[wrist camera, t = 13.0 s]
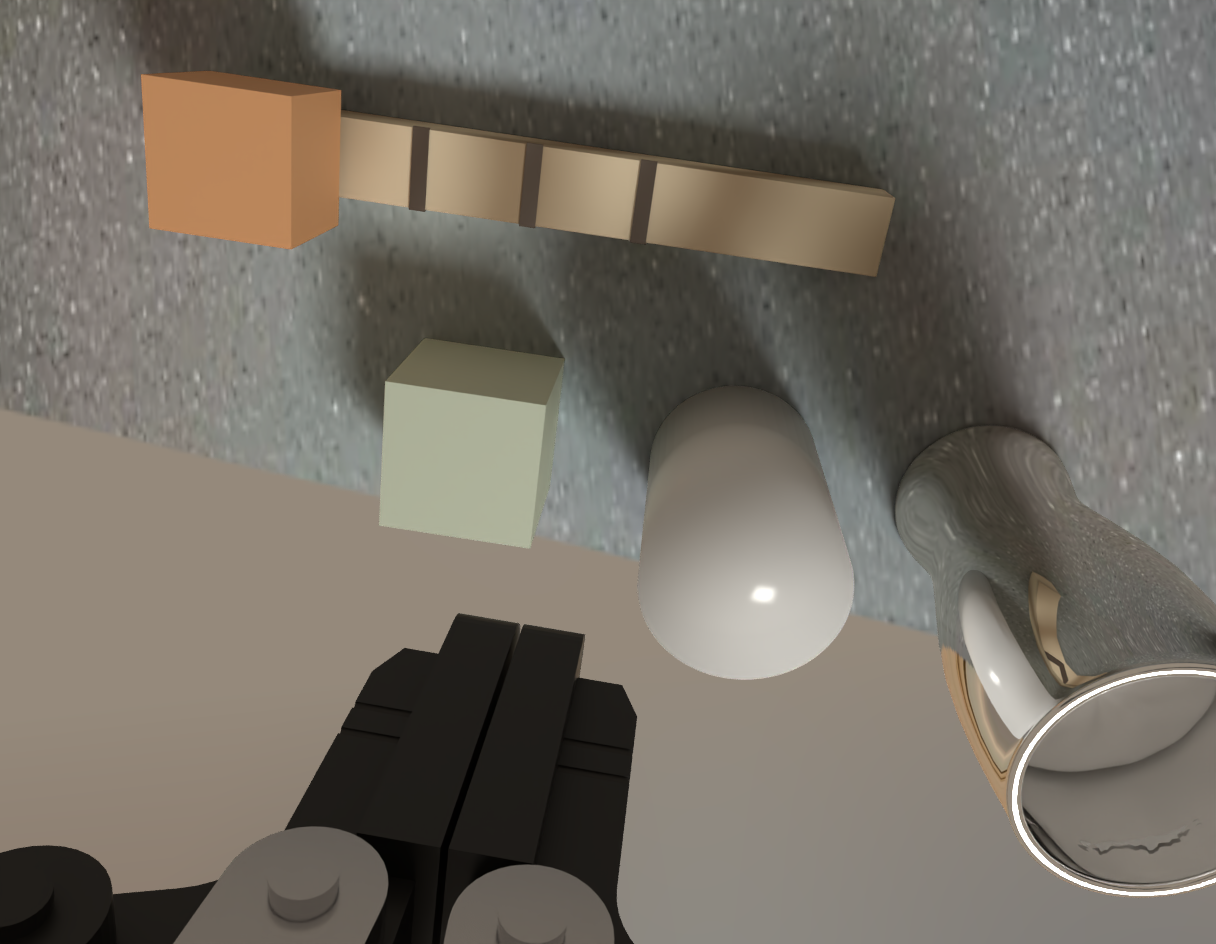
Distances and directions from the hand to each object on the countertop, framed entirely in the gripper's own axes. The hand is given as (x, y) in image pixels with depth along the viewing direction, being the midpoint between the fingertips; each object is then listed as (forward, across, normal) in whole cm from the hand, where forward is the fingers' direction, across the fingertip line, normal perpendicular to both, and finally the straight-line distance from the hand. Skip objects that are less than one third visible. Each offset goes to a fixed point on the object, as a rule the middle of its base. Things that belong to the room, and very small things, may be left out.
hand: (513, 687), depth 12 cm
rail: (+24, +4, -3) cm, 24 cm away
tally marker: (+21, +12, -2) cm, 24 cm away
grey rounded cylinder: (+24, -4, +6) cm, 25 cm away
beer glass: (+24, -13, +6) cm, 28 cm away
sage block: (+24, +5, +6) cm, 25 cm away
